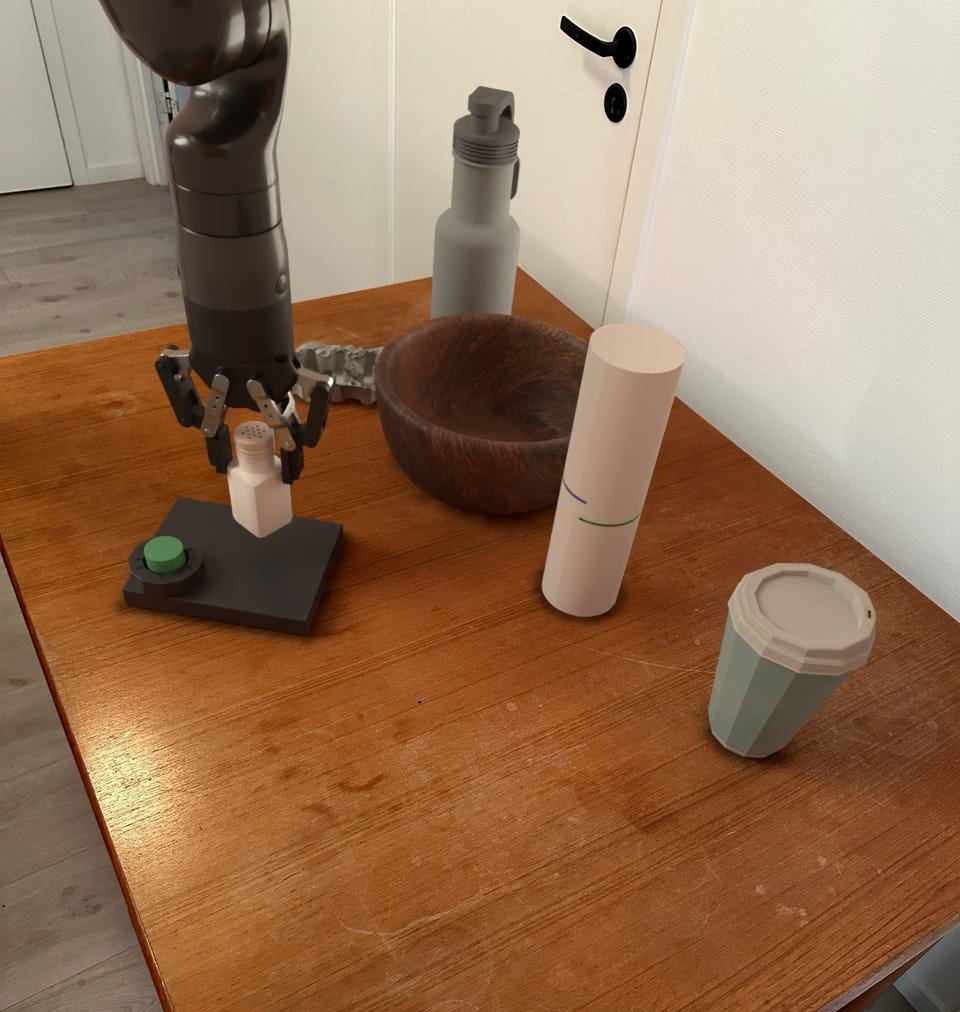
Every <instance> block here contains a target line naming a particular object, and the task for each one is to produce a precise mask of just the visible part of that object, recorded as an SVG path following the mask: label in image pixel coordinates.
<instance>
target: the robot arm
mask: <svg viewBox="0 0 960 1012" xmlns="http://www.w3.org/2000/svg"><path fill="white" fill-rule="evenodd" d="M98 2H99V4H100V6H101V8H102V11H103V12H104V14H105V16H106V18H107V19H108V21H109V23H110V25H111V27H112V28H113V30H114V31H115V33H116V34H117V36H118V37H119V38H120V40H121V42H122V43H123V45H125V46H126V48H127V49H128V50H129V51H130V52H131V53H132V55H134V57H135V58H136V59H137V60H139V61H140V63H142V64H143V65H144V66H145V67H147V68H148V69H149V70H150V71H151V72H153V73H154V74H155V75H157V76H159V78H162V79H164V80H165V81H167V82H169V83H171V84H174V85H178V86H182V87H187V88H188V87H189V93H188V97H187V99H186V101H185V103H184V105H183V106H182V108H181V109H180V110H179V112H178V113H177V114H176V115H175V116H174V118H173V119H172V120H171V121H170V122H169V124H168V126H167V127H166V130H165V134H164V142H163V143H164V156H165V165H166V171H167V172H166V173H167V179H168V185H169V186H168V187H169V191H170V192H169V193H170V199H171V204H172V211H173V212H172V213H173V216H174V217H173V218H174V225H175V226H174V230H175V231H174V233H175V235H174V237H175V241H174V242H175V253H176V260H177V262H176V270H177V276H178V277H179V279H180V285H181V292H182V298H183V305H184V312H185V317H186V324H187V331H188V336H189V340H190V343H191V347H190V348H189V349H181V348H180V347H179V346H178V345H176V344H173V343H171V344H168V345H167V346H166V347H165V348H164V349H163V350H162V352H161V353H160V354H159V356H158V358H157V359H156V360H155V362H154V369H155V371H156V373H157V376H158V378H159V380H160V383H161V385H162V387H163V390H164V392H165V395H166V397H167V400H168V401H169V404H170V406H171V409H172V411H173V413H174V415H175V418H176V420H177V422H178V424H179V426H181V427H183V428H185V429H188V428H191V427H193V428H195V429H198V430H199V431H200V433H201V434H202V435H203V436H204V441H205V446H206V452H207V457H208V459H207V460H208V462H209V464H210V466H212V467H215V472H216V473H217V474H221V475H227V465H228V464H229V462H231V461H232V460H233V459H234V456H233V448H232V440H231V431H230V425H229V424H227V423H225V419H226V416H227V413H228V410H229V408H230V409H237V410H238V409H247V410H249V411H252V412H255V413H259V414H261V415H262V417H263V419H264V421H265V423H266V424H267V425H268V427H269V428H270V429H273V431H274V434H275V435H276V437H277V439H278V442H279V444H280V445H281V447H280V449H279V456H280V459H281V468H282V480H283V484H288V485H290V486H292V485H294V482H295V481H298V480H299V479H300V476H301V474H302V472H303V469H304V468H305V453H304V451H305V450H304V447H306V448H308V449H314V448H316V447H317V446H318V444H319V441H320V440H321V437H322V435H323V432H324V431H325V429H326V425H327V420H328V416H329V412H330V408H331V404H332V395H333V391H334V387H335V383H336V374H335V373H334V372H333V371H331V370H329V369H326V370H324V371H322V373H321V374H319V373H316V372H313V371H311V370H308V369H305V368H302V366H301V363H300V361H299V359H298V357H297V356H296V353H295V335H294V322H293V321H294V320H293V319H294V318H293V307H292V306H293V304H292V290H291V277H290V275H291V274H290V262H289V248H288V242H287V237H286V233H285V229H284V228H285V227H284V222H283V215H282V201H281V187H280V173H279V172H280V171H279V170H280V169H279V160H278V141H279V137H280V136H279V135H280V129H281V126H282V125H281V124H282V120H283V114H284V109H285V108H284V106H285V101H286V100H285V99H286V93H287V92H286V91H287V84H288V83H287V82H288V75H289V67H290V58H291V46H292V15H291V5H290V0H98ZM192 371H193V372H195V373H196V375H197V376H198V377H199V378H200V379H201V382H203V383H204V385H206V387H207V388H208V389H209V391H210V392H209V395H208V398H207V401H206V405H205V406H204V404H203V402H202V400H201V397H200V395H199V392H198V389H197V387H196V384H195V383H194V380H193V377H192V375H191V374H192ZM296 383H297V384H299V385H300V386H301V387H302V389H303V395H304V397H305V400H304V401H305V402H306V403H309V406H308V412H307V416H306V422H304V423H303V422H302V421H301V419H300V416H299V414H298V412H297V410H296V401H295V398H294V396H293V393H292V392H291V390H292V387H293V386H294V385H295V384H296Z"/></svg>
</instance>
